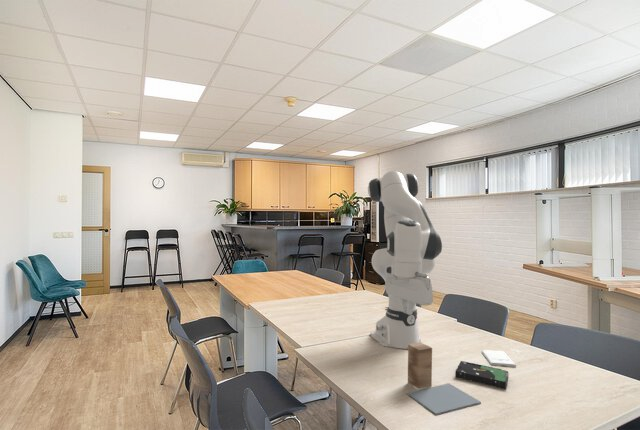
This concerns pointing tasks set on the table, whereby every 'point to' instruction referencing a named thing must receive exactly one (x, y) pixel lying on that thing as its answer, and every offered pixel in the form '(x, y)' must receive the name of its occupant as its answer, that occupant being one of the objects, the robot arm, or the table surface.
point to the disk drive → (482, 374)
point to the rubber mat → (443, 398)
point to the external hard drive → (498, 358)
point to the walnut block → (419, 366)
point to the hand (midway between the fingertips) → (407, 313)
